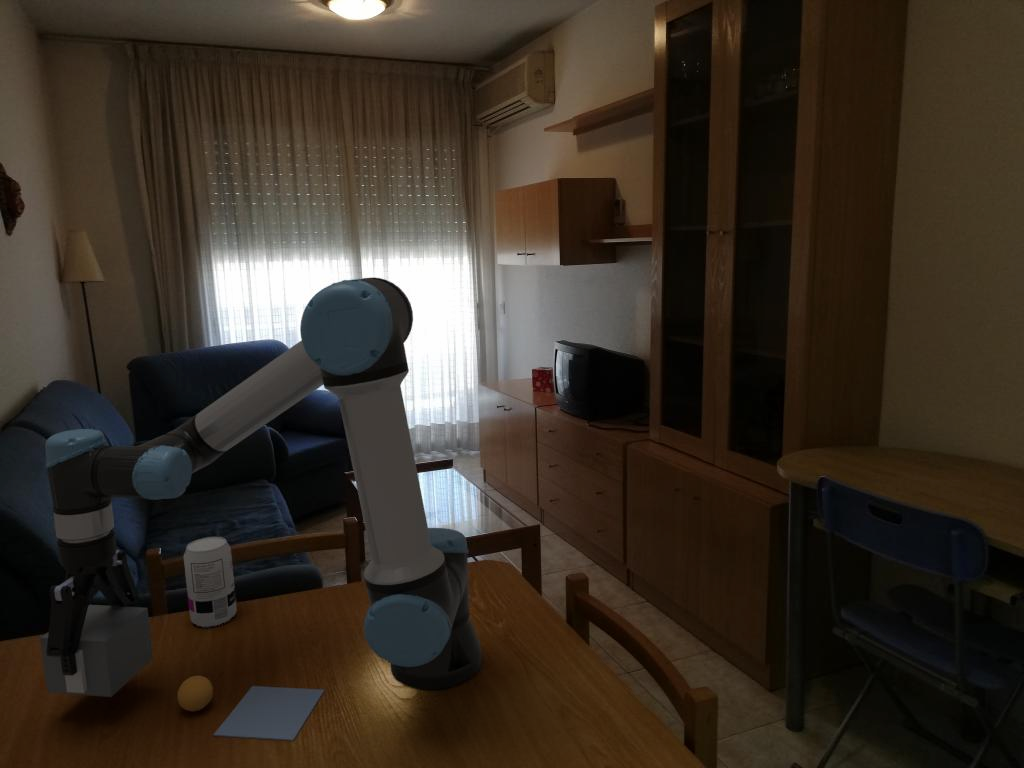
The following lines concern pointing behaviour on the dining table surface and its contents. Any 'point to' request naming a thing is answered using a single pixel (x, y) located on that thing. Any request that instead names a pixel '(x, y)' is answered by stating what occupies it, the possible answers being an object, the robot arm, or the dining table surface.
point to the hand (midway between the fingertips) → (102, 670)
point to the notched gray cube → (106, 650)
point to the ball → (195, 693)
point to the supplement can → (210, 581)
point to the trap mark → (270, 713)
